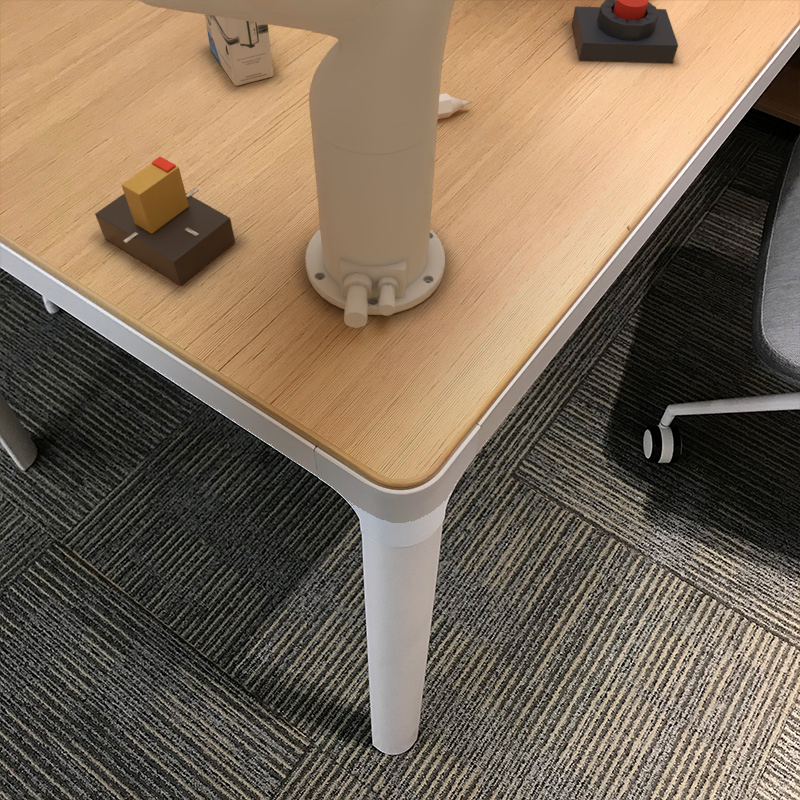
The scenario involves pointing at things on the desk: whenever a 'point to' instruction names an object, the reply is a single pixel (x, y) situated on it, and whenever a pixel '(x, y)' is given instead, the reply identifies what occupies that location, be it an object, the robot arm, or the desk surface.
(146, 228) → the lock knob
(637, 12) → the bell button
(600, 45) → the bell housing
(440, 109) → the marker
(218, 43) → the ink box
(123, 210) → the plate
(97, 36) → the desk surface
